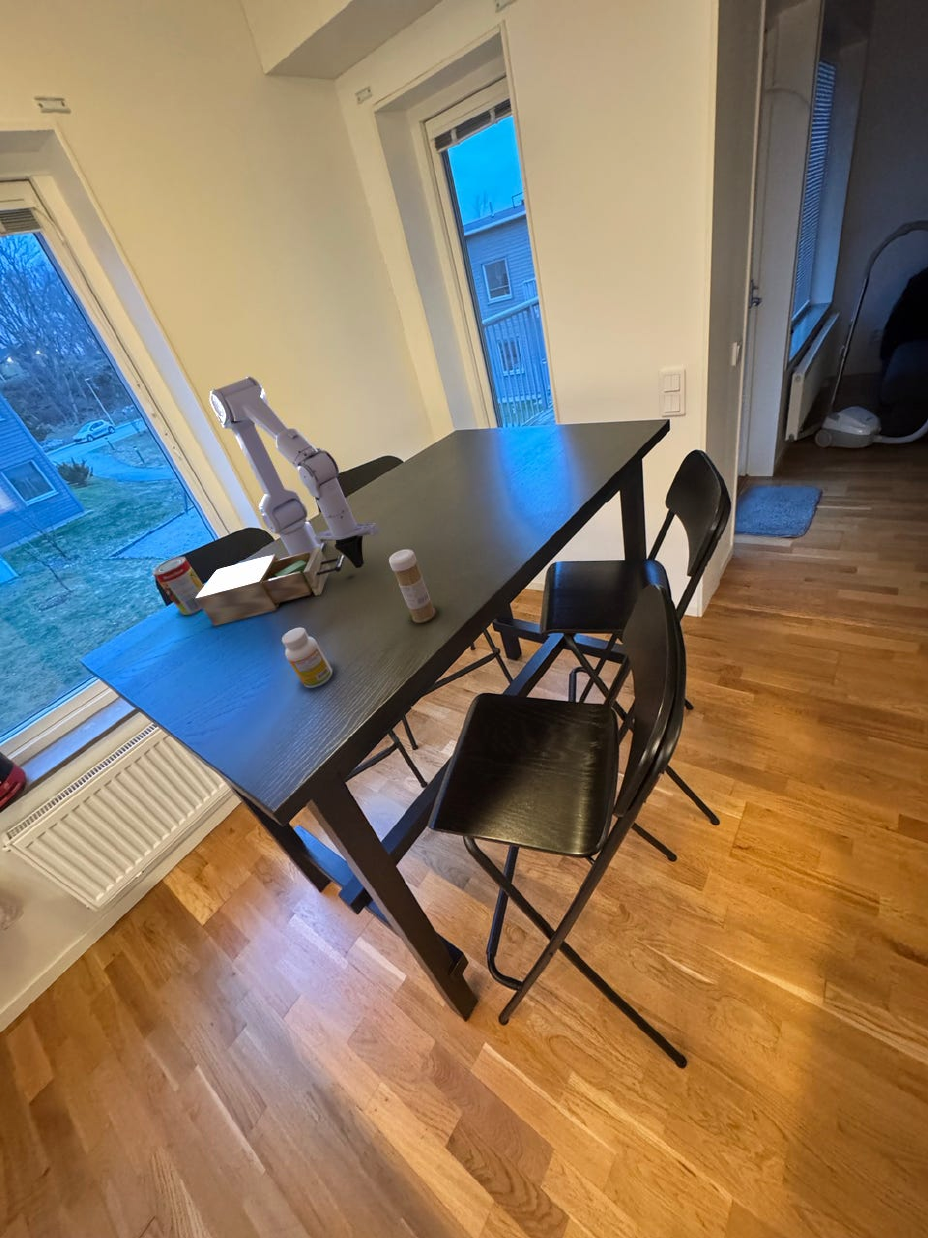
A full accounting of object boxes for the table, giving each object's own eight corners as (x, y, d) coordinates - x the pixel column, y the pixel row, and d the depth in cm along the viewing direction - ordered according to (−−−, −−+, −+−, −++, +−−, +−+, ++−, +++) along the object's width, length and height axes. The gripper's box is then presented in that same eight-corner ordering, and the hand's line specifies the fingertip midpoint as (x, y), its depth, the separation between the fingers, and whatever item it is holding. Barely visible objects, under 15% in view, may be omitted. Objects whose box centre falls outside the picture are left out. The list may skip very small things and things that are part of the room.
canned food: (206, 593, 127) (179, 554, 121) (216, 600, 122) (189, 560, 115) (177, 610, 124) (148, 570, 117) (186, 618, 118) (156, 577, 112)
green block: (308, 574, 116) (300, 559, 113) (314, 577, 113) (306, 562, 111) (282, 589, 113) (274, 574, 110) (288, 593, 110) (279, 578, 108)
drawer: (352, 563, 117) (342, 540, 113) (344, 588, 107) (333, 564, 104) (275, 583, 119) (263, 561, 116) (261, 609, 110) (247, 587, 106)
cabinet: (290, 581, 120) (275, 553, 115) (276, 610, 109) (259, 581, 105) (234, 596, 122) (216, 569, 117) (214, 626, 111) (194, 598, 106)
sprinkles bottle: (430, 606, 94) (408, 545, 86) (439, 616, 90) (417, 553, 82) (409, 616, 93) (384, 556, 85) (417, 627, 89) (393, 565, 81)
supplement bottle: (306, 671, 87) (281, 629, 81) (335, 663, 86) (311, 621, 81) (301, 692, 82) (273, 649, 77) (330, 684, 82) (305, 640, 77)
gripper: (372, 498, 104) (394, 552, 112) (315, 508, 109) (339, 560, 116) (360, 512, 99) (384, 569, 106) (301, 522, 103) (327, 576, 111)
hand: (360, 565), depth 111 cm, fingers closed
